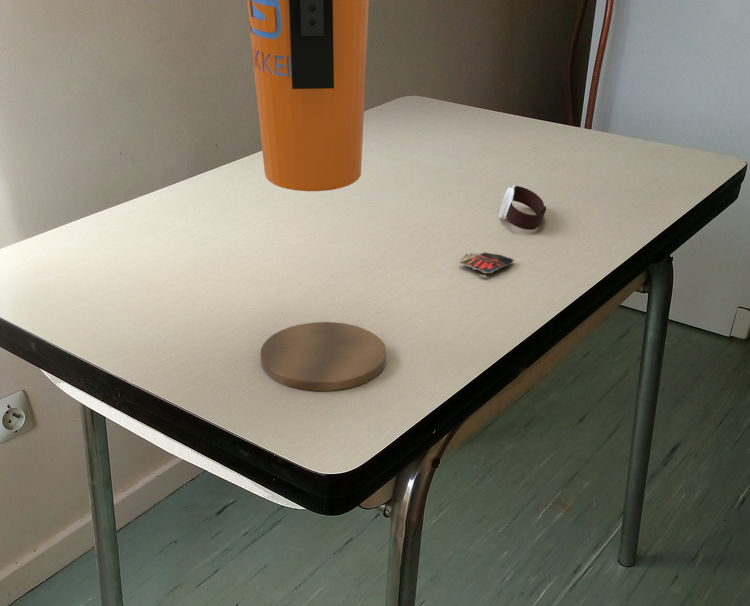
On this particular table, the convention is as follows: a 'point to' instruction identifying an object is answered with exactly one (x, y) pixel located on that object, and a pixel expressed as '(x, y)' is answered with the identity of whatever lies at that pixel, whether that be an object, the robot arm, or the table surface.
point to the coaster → (323, 356)
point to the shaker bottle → (310, 100)
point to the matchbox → (485, 262)
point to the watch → (517, 216)
